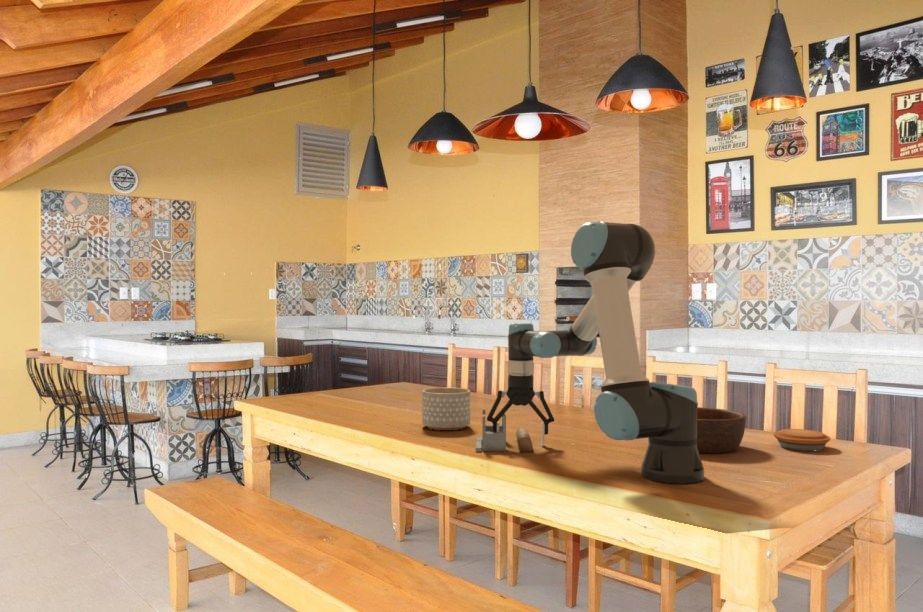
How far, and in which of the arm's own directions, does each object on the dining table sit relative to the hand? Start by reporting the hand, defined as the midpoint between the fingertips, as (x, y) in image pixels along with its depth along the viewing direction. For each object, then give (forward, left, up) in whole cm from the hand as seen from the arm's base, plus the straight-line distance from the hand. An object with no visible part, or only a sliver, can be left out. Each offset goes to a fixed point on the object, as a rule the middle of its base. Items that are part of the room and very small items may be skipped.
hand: (520, 445), depth 217 cm
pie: (+2, -84, -1) cm, 84 cm away
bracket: (0, +8, 0) cm, 8 cm away
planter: (+30, +24, 0) cm, 38 cm away
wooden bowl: (+1, -54, -1) cm, 54 cm away
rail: (0, 0, 0) cm, 0 cm away
